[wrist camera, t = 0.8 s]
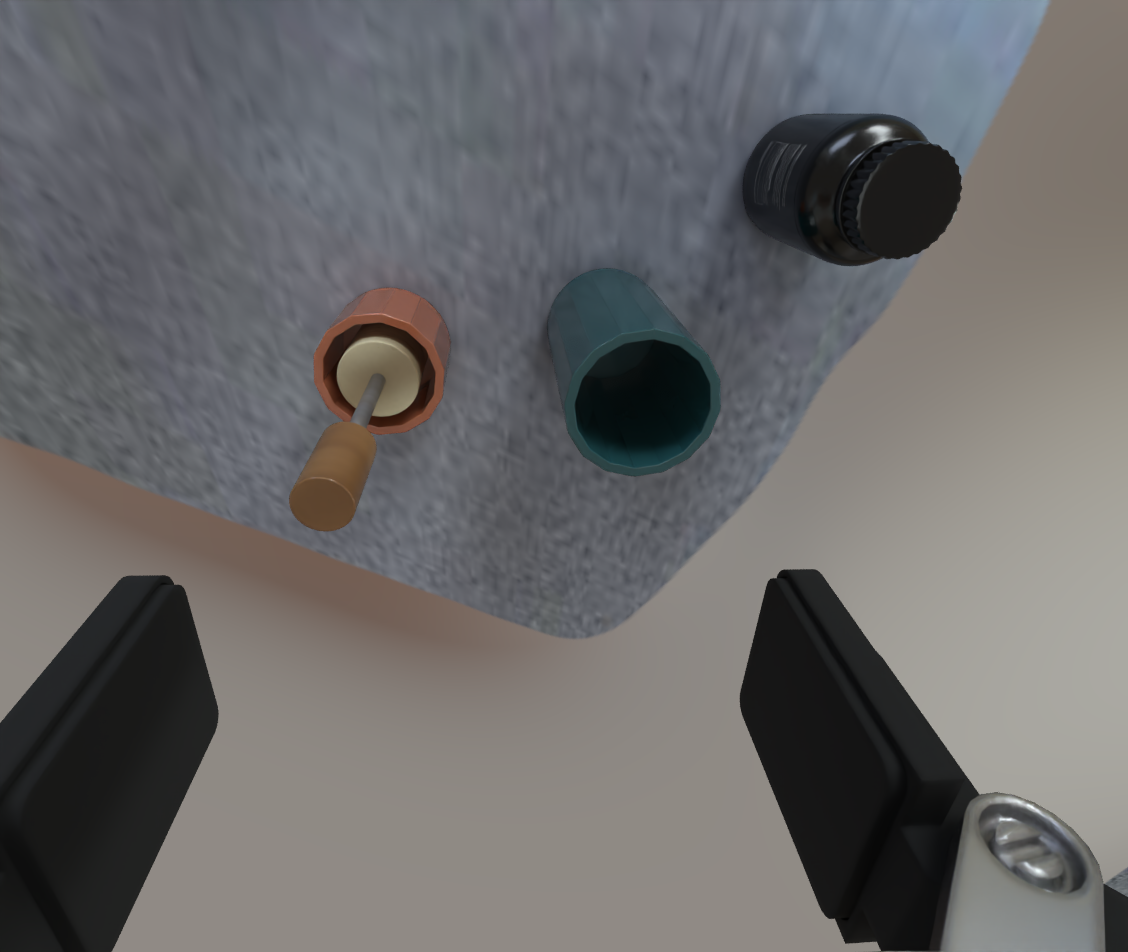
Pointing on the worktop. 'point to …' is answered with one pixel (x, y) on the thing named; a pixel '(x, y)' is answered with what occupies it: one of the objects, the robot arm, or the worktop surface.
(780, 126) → the supplement bottle
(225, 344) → the worktop surface
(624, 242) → the worktop surface
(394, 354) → the brush
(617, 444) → the cup
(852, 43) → the worktop surface
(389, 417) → the cup
